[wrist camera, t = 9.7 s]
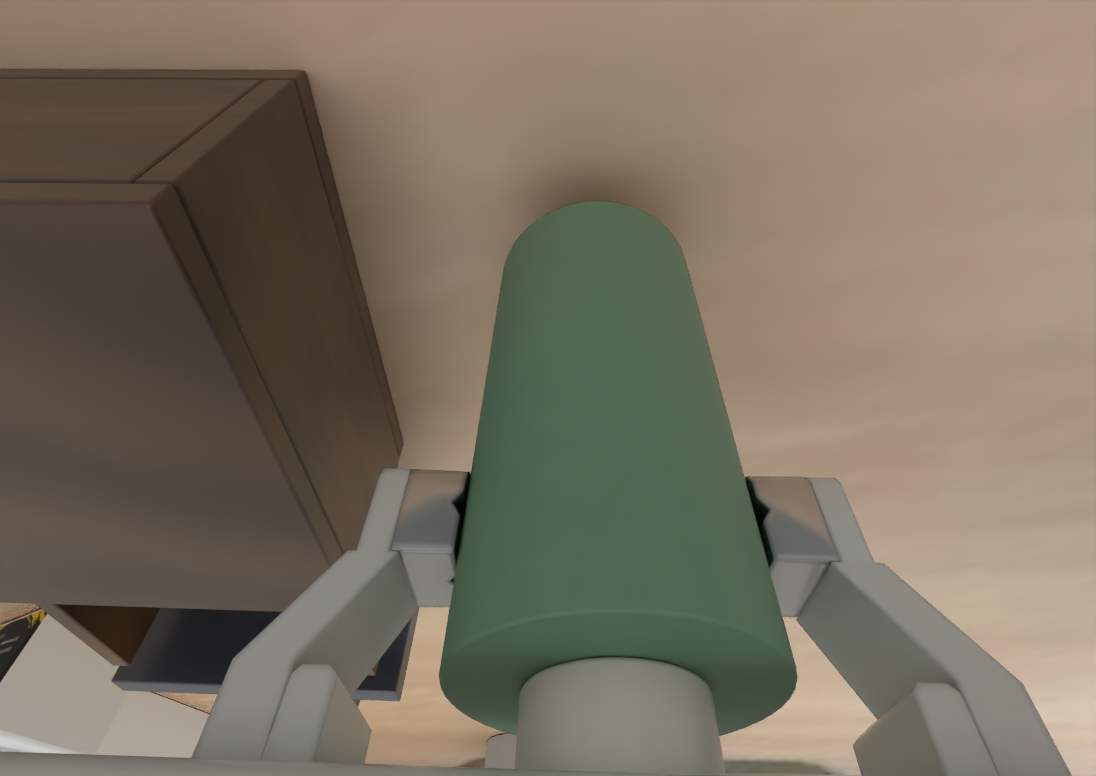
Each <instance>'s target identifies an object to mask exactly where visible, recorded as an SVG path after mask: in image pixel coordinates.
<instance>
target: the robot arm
mask: <svg viewBox="0 0 1096 776" xmlns="http://www.w3.org/2000/svg"><path fill="white" fill-rule="evenodd" d="M470 477H471V474H470V472H462V471H441V470H420V469H391V468H384V470H383V471H382V473H381V474H380V476H379V478H378V481H377V485H376V488H375V491H374V494H373V498H372V501H371V504H370V507H369V511H368V514H367V517H366V520H365V524H364V527H363V530H362V534H361V537H360V540H359V543H358V547H357V550H348V551H346V552H345V553H344V554H343V555H342V556H341V557H340V558H339V559H338V560H337V561H336V562H335V563H334V564H333V565H332V566H331V567H330V568H328V569H327V570H326V571H325V572H324V573H323V574H322V575H321V576H320V577H319V578H318V579H317V580H316V581H315V582H314V583H313V584H312V585H310V586H309V587H308V588H307V589H306V590H305V591H304V592H303V593H302V594H301V595H300V596H299V597H298V598H297V599H296V600H295V601H293V602H292V603H291V604H290V605H289V606H288V607H287V608H286V609H285V610H284V611H283V612H282V613H281V614H280V615H279V616H278V617H277V618H275V619H274V620H273V621H272V622H271V623H270V624H269V625H268V626H267V627H266V628H265V629H264V630H263V631H262V632H261V633H260V634H259V635H257V636H256V637H255V638H254V639H253V640H252V641H251V642H250V643H249V644H248V645H247V646H246V647H245V648H244V649H243V650H242V651H240V652H239V653H238V654H237V655H236V656H235V657H234V658H233V659H232V662H231V664H230V666H229V669H228V671H227V674H226V676H225V678H224V681H223V683H222V685H221V688H220V690H219V693H218V695H217V697H216V700H215V702H214V705H213V707H212V709H211V712H210V714H209V716H208V719H207V721H206V724H205V726H204V728H203V731H202V733H201V735H200V738H199V740H198V743H197V745H196V747H195V750H194V752H193V755H192V757H191V758H179V757H149V756H120V755H90V754H61V753H32V752H2V751H0V776H708V775H679V774H649V773H620V772H590V771H561V770H531V769H502V768H473V767H443V766H414V765H384V764H364V763H365V758H366V753H367V749H368V744H369V739H370V734H371V729H370V727H369V725H368V723H367V722H366V720H365V718H364V717H363V715H362V714H361V712H360V710H359V709H358V707H357V706H356V704H355V702H354V701H353V699H352V698H351V696H352V695H353V693H354V692H355V691H356V690H357V688H358V687H359V686H360V684H361V683H362V682H363V680H364V679H365V678H366V677H367V675H368V674H369V673H370V671H371V670H372V669H373V667H374V666H375V665H376V663H377V662H378V661H379V660H380V658H381V657H382V656H383V654H384V653H385V652H386V650H387V649H388V648H389V647H390V645H391V644H392V643H393V641H394V640H395V639H396V637H397V636H398V635H399V634H400V632H401V631H402V630H403V628H404V627H405V626H406V624H407V623H408V622H409V620H410V619H411V618H412V617H413V615H414V614H415V613H416V611H417V607H450V603H451V597H452V590H453V584H454V578H455V572H456V566H457V559H458V553H459V547H460V540H461V534H462V528H463V521H464V515H465V509H466V503H467V496H468V490H469V484H470ZM745 481H746V485H747V489H748V492H749V496H750V500H751V503H752V507H753V511H754V514H755V518H756V522H757V525H758V529H759V533H760V536H761V540H762V544H763V547H764V551H765V555H766V559H767V562H768V566H769V570H770V573H771V577H772V581H773V584H774V588H775V592H776V595H777V599H778V603H779V606H780V610H781V614H782V617H798V618H797V619H796V620H797V621H798V623H799V624H800V625H801V626H802V627H803V629H804V630H805V631H806V632H807V634H808V635H809V636H810V637H811V639H812V640H813V641H814V642H815V643H816V645H817V646H818V647H819V648H820V650H821V651H822V652H823V653H824V654H825V656H826V657H827V658H828V659H829V661H830V662H831V663H832V664H833V666H834V667H835V668H836V669H837V670H838V672H839V673H840V674H841V675H842V677H843V678H844V679H845V680H846V681H847V683H848V684H849V685H850V686H851V688H852V689H853V690H854V691H855V693H856V694H857V695H858V696H859V697H860V699H861V700H862V701H863V702H864V704H865V705H866V706H867V707H868V708H869V710H870V711H871V712H872V713H873V715H874V716H875V717H876V718H877V721H876V722H874V723H873V724H872V725H871V726H870V727H869V728H868V729H867V730H866V731H865V732H864V733H863V734H861V735H860V736H859V737H858V739H857V740H856V741H855V743H854V744H853V748H854V751H855V755H856V758H857V761H858V765H859V768H860V771H861V775H862V776H1072V775H1071V773H1070V771H1069V770H1068V768H1067V766H1066V764H1065V762H1064V760H1063V758H1062V756H1061V755H1060V753H1059V751H1058V749H1057V747H1056V745H1055V743H1054V741H1053V739H1052V738H1051V736H1050V734H1049V732H1048V730H1047V728H1046V726H1045V724H1044V723H1043V721H1042V719H1041V717H1040V715H1039V713H1038V711H1037V709H1036V708H1035V706H1034V704H1033V702H1032V700H1031V698H1030V696H1029V694H1028V693H1027V691H1026V689H1025V687H1024V685H1023V683H1022V682H1020V681H1019V680H1018V679H1017V678H1016V677H1015V676H1013V675H1012V674H1011V673H1010V672H1009V671H1008V670H1006V669H1005V668H1004V667H1003V666H1002V665H1001V664H1000V663H998V662H997V661H996V660H995V659H994V658H993V657H991V656H990V655H989V654H988V653H987V652H986V651H985V650H983V649H982V648H981V647H980V646H979V645H978V644H976V643H975V642H974V641H973V640H972V639H971V638H970V637H968V636H967V635H966V634H965V633H964V632H963V631H961V630H960V629H959V628H958V627H957V626H956V625H954V624H953V623H952V622H951V621H950V620H949V619H948V618H946V617H945V616H944V615H943V614H942V613H941V612H939V611H938V610H937V609H936V608H935V607H934V606H933V605H931V604H930V603H929V602H928V601H927V600H926V599H924V598H923V597H922V596H921V595H920V594H919V593H918V592H916V591H915V590H914V589H913V588H912V587H911V586H909V585H908V584H907V583H906V582H905V581H904V580H902V579H901V578H900V577H899V576H898V575H897V574H896V573H894V572H893V571H892V570H891V569H890V568H889V567H887V566H886V565H885V564H884V563H875V562H874V560H873V558H872V555H871V553H870V550H869V548H868V546H867V543H866V541H865V539H864V536H863V534H862V532H861V529H860V527H859V525H858V522H857V520H856V518H855V515H854V513H853V511H852V508H851V506H850V504H849V501H848V499H847V497H846V494H845V492H844V490H843V487H842V485H841V483H840V482H839V481H838V480H837V479H836V478H803V477H755V476H747V477H746V478H745Z"/></svg>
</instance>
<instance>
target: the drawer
mask: <svg viewBox="0 0 1096 776" xmlns="http://www.w3.org/2000/svg"><path fill="white" fill-rule="evenodd" d="M35 604H36V605H37V606H38V607H40V608H41V609H42V610H43V611H45V612H46V613H47V614H48V615H50V616H51V617H52V618H54V619H55V620H56V621H57V622H59V623H60V624H61V625H62V626H64V627H65V628H66V629H67V630H69V631H70V632H71V633H73V634H74V635H75V636H76V637H78V638H79V639H80V640H81V641H83V642H84V643H85V644H86V645H88V646H89V647H90V648H92V649H93V650H94V651H95V652H97V653H98V654H99V655H100V656H102V657H103V658H104V659H105V660H107V661H108V662H109V663H111V664H112V665H113V666H119V667H118V669H117V671H116V673H115V675H114V676H113V678H112V680H111V682H113V683H114V684H115V685H117V686H118V687H119V688H121V689H122V690H123V691H146V692H173V693H199V694H218V693H219V690H220V688H221V685H222V683H223V681H224V678H225V676H226V674H227V671H228V669H229V666H230V664H231V662H232V659H233V658H234V657H235V656H236V655H237V654H238V653H239V652H240V651H242V650H243V649H244V648H245V647H246V646H247V645H248V644H249V643H250V642H251V641H252V640H253V639H254V638H255V637H256V636H257V635H259V634H260V633H261V632H262V631H263V630H264V629H265V628H266V627H267V626H268V625H269V624H270V623H271V622H272V621H273V620H274V619H275V618H277V617H278V616H279V615H280V614H281V613H282V612H276V611H246V610H216V609H187V608H157V607H127V606H97V605H67V604H37V603H35ZM418 612H419V607H417V611H416V613H415V614H414V615H413V617H412V618H411V619H410V620H409V622H408V623H407V624H406V626H405V627H404V628H403V630H402V631H401V632H400V634H399V635H398V636H397V637H396V639H395V640H394V641H393V643H392V644H391V645H390V647H389V648H388V649H387V650H386V652H385V653H384V654H383V656H382V657H381V658H380V660H379V661H378V662H377V663H376V665H375V666H374V667H373V669H372V670H371V671H370V673H369V674H368V675H367V677H366V678H365V679H364V680H363V682H362V683H361V684H360V686H359V687H358V688H357V690H356V691H355V692H354V693H353V695H352V696H351V698H352V699H353V701H354V702H355V704H356V706H357V707H358V705H359V702H360V700H383V701H400V699H401V694H402V689H403V684H404V680H405V675H406V670H407V665H408V660H409V655H410V650H411V646H412V641H413V636H414V631H415V626H416V621H417V616H418Z"/></svg>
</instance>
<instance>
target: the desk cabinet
mask: <svg viewBox="0 0 1096 776" xmlns="http://www.w3.org/2000/svg"><path fill="white" fill-rule="evenodd" d="M402 447H403V441H402V437H401V434H400V430H399V426H398V422H397V418H396V415H395V411H394V407H393V403H392V399H391V396H390V392H389V388H388V384H387V381H386V377H385V373H384V369H383V365H382V362H381V358H380V354H379V350H378V346H377V343H376V339H375V335H374V331H373V327H372V324H371V320H370V316H369V312H368V308H367V305H366V301H365V297H364V293H363V290H362V286H361V282H360V278H359V274H358V271H357V267H356V263H355V259H354V255H353V252H352V248H351V244H350V240H349V236H348V233H347V229H346V225H345V221H344V217H343V214H342V210H341V206H340V202H339V199H338V195H337V191H336V187H335V183H334V180H333V176H332V172H331V168H330V164H329V161H328V157H327V153H326V149H325V145H324V142H323V138H322V134H321V130H320V126H319V123H318V119H317V115H316V111H315V108H314V104H313V100H312V96H311V92H310V89H309V85H308V81H307V77H306V74H305V72H303V71H241V70H0V602H7V603H37V604H67V605H97V606H127V607H157V608H187V609H216V610H246V611H276V612H283V611H284V610H285V609H286V608H287V607H288V606H289V605H290V604H291V603H292V602H293V601H295V600H296V599H297V598H298V597H299V596H300V595H301V594H302V593H303V592H304V591H305V590H306V589H307V588H308V587H309V586H310V585H312V584H313V583H314V582H315V581H316V580H317V579H318V578H319V577H320V576H321V575H322V574H323V573H324V572H325V571H326V570H327V569H328V568H330V567H331V566H332V565H333V564H334V563H335V562H336V561H337V560H338V559H339V558H340V557H341V556H342V555H343V554H344V553H345V552H346V551H348V550H357V547H358V543H359V540H360V537H361V534H362V530H363V527H364V524H365V520H366V517H367V514H368V511H369V507H370V504H371V501H372V498H373V494H374V491H375V488H376V485H377V481H378V478H379V476H380V474H381V473H382V471H383V470H384V468H391V469H396V468H397V465H398V461H399V457H400V454H401V451H402Z"/></svg>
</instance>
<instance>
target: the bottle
mask: <svg viewBox="0 0 1096 776" xmlns="http://www.w3.org/2000/svg"><path fill="white" fill-rule="evenodd" d="M516 740H517V736H516V735H513V734H509V733H507V734H503V735H497V736H494V737H492V738H490V739H489V740H488V741H487V749H486V759H485V768H502V769H515V756H516Z"/></svg>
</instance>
